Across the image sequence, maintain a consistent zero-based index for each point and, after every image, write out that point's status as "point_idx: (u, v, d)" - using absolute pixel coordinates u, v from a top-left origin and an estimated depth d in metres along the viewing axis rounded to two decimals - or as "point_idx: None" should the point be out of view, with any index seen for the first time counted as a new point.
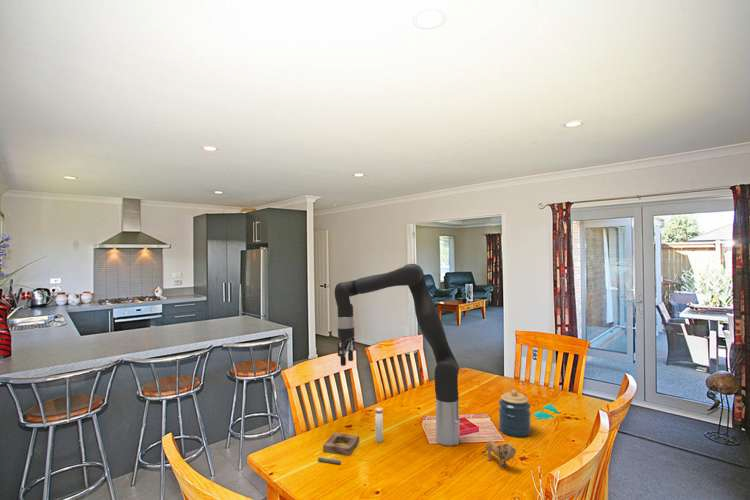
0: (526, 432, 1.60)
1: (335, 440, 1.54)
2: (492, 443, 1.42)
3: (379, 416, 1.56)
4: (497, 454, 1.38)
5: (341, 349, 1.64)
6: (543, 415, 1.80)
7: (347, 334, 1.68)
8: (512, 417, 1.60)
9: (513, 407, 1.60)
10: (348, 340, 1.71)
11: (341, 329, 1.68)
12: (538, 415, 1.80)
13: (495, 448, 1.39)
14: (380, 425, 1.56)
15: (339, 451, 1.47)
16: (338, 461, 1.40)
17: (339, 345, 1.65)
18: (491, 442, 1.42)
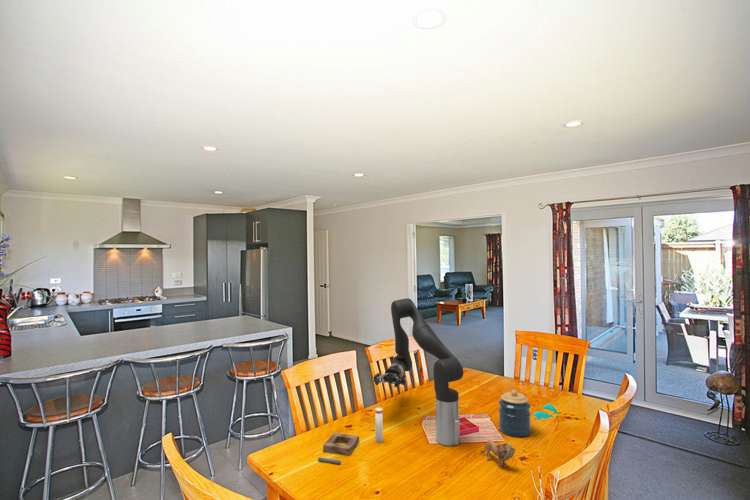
0: (526, 432, 1.60)
1: (335, 440, 1.54)
2: (491, 443, 1.42)
3: (379, 416, 1.56)
4: (496, 454, 1.38)
5: None
6: (542, 415, 1.80)
7: (386, 370, 1.82)
8: (512, 417, 1.60)
9: (513, 407, 1.60)
10: (390, 374, 1.78)
11: None
12: (537, 415, 1.80)
13: (495, 448, 1.40)
14: (380, 425, 1.56)
15: (339, 451, 1.47)
16: (338, 461, 1.40)
17: None
18: (490, 442, 1.43)
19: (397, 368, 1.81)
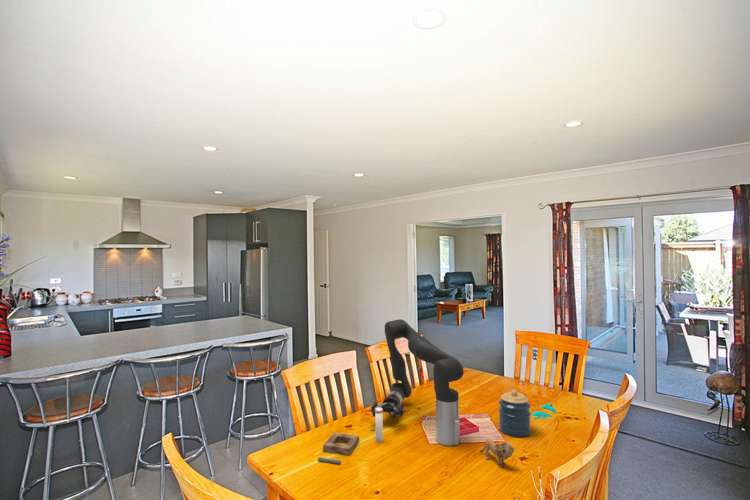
0: (526, 432, 1.60)
1: (335, 440, 1.54)
2: (490, 442, 1.43)
3: (379, 416, 1.56)
4: (495, 453, 1.39)
5: None
6: (541, 415, 1.80)
7: None
8: (512, 417, 1.60)
9: (513, 407, 1.60)
10: (389, 404, 1.74)
11: None
12: (536, 415, 1.81)
13: (493, 447, 1.40)
14: (380, 425, 1.56)
15: (339, 451, 1.47)
16: (338, 461, 1.40)
17: None
18: (489, 441, 1.43)
19: (395, 397, 1.77)
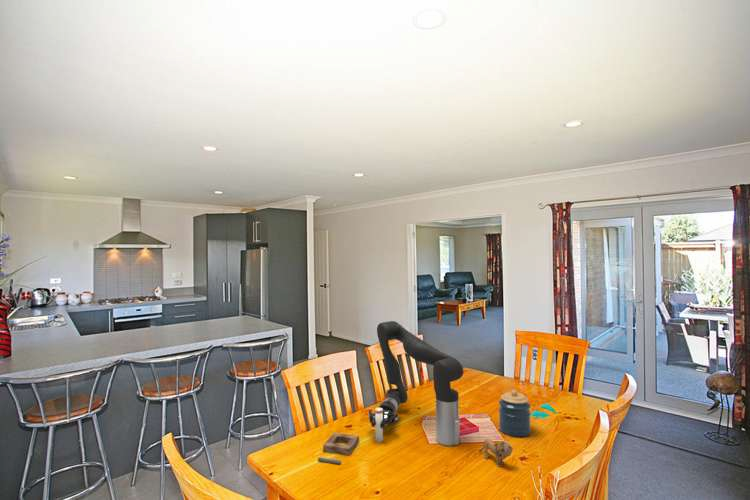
0: (526, 432, 1.60)
1: (335, 440, 1.54)
2: (489, 441, 1.43)
3: (379, 416, 1.56)
4: (494, 452, 1.39)
5: (369, 415, 1.63)
6: (540, 414, 1.81)
7: (379, 406, 1.69)
8: (512, 417, 1.60)
9: (513, 407, 1.60)
10: (383, 411, 1.66)
11: None
12: (535, 414, 1.81)
13: (492, 446, 1.41)
14: None
15: (339, 451, 1.47)
16: (338, 461, 1.40)
17: None
18: (488, 440, 1.44)
19: (391, 404, 1.68)
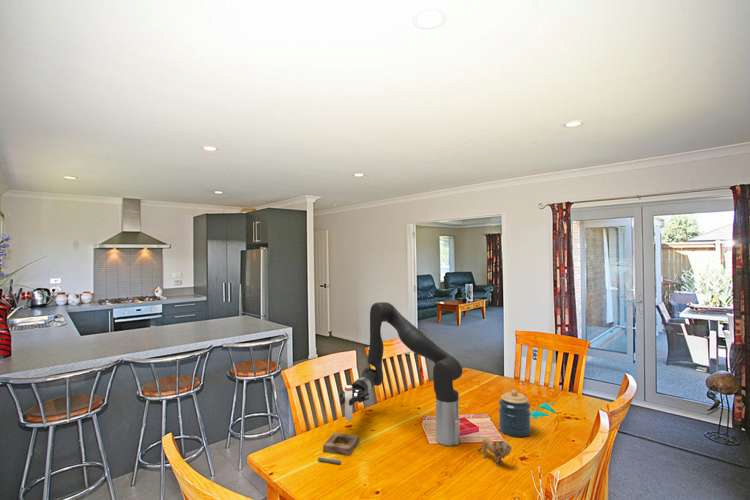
0: (526, 432, 1.60)
1: (335, 440, 1.54)
2: (488, 441, 1.44)
3: (348, 393, 1.53)
4: (493, 451, 1.40)
5: None
6: (539, 414, 1.81)
7: None
8: (512, 417, 1.60)
9: (513, 407, 1.60)
10: (355, 390, 1.63)
11: None
12: (534, 414, 1.81)
13: (491, 446, 1.41)
14: None
15: (339, 451, 1.47)
16: (338, 461, 1.40)
17: None
18: (487, 440, 1.44)
19: (363, 383, 1.65)
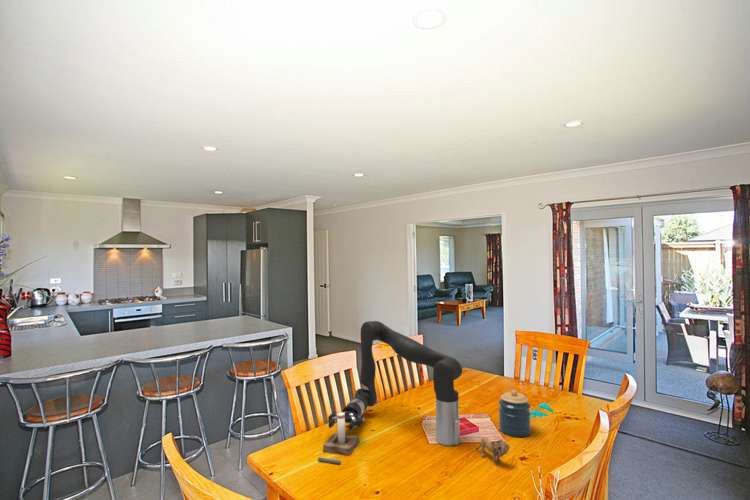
0: (526, 432, 1.60)
1: (335, 440, 1.54)
2: (486, 440, 1.44)
3: (340, 421, 1.51)
4: (491, 450, 1.41)
5: None
6: (537, 413, 1.82)
7: None
8: (512, 417, 1.60)
9: (513, 407, 1.60)
10: (348, 413, 1.61)
11: None
12: (532, 413, 1.82)
13: (489, 445, 1.42)
14: (342, 430, 1.52)
15: (339, 451, 1.47)
16: (338, 461, 1.40)
17: None
18: (485, 439, 1.45)
19: (356, 406, 1.64)
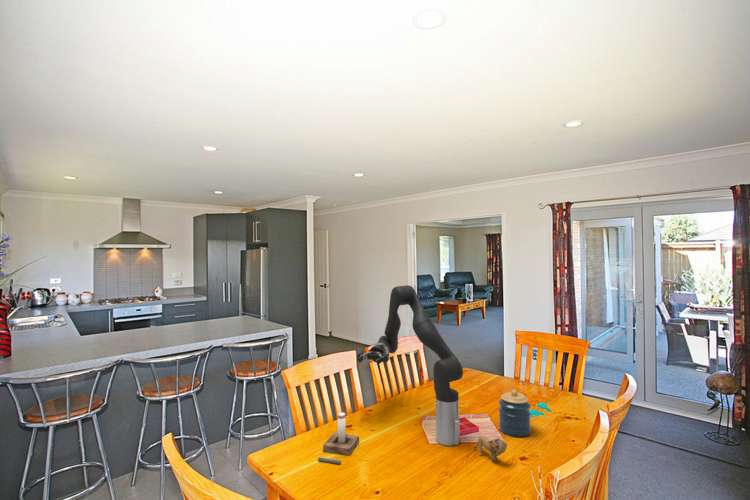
0: (526, 432, 1.60)
1: (335, 440, 1.54)
2: (483, 438, 1.45)
3: (341, 421, 1.51)
4: (489, 449, 1.42)
5: None
6: (535, 413, 1.82)
7: None
8: (512, 417, 1.60)
9: (513, 407, 1.60)
10: (374, 352, 1.78)
11: None
12: None
13: (487, 443, 1.43)
14: (342, 430, 1.52)
15: (339, 451, 1.47)
16: (338, 461, 1.40)
17: None
18: (482, 437, 1.46)
19: (381, 347, 1.80)
